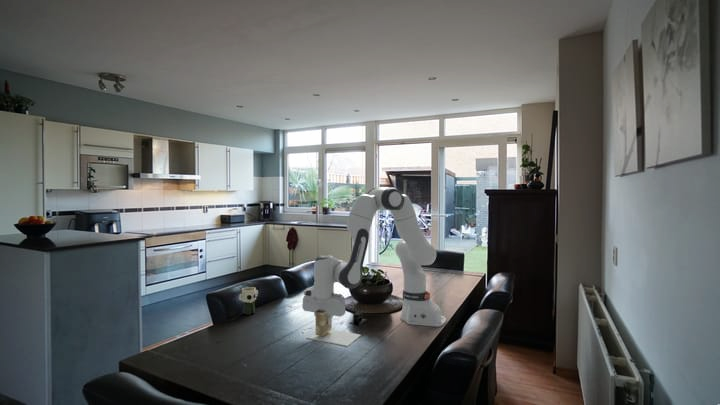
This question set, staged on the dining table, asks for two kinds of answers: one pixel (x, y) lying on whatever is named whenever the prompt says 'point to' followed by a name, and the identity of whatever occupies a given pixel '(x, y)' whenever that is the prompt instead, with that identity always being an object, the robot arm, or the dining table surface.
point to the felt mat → (336, 337)
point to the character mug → (248, 299)
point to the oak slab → (322, 323)
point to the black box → (357, 319)
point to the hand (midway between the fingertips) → (323, 323)
